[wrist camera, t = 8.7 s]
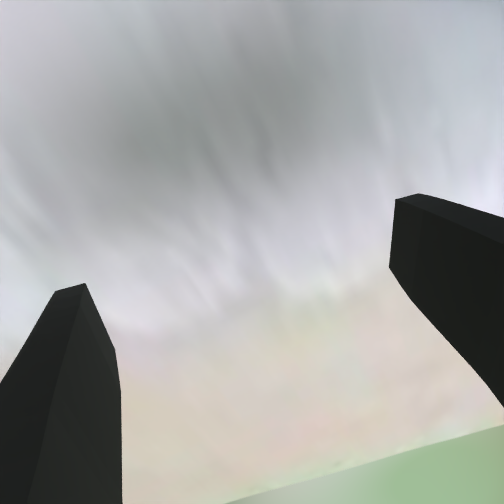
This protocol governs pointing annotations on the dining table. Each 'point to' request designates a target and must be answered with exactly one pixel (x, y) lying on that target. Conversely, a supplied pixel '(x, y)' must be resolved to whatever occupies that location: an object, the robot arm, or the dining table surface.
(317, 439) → the dining table surface
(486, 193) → the dining table surface
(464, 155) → the dining table surface
